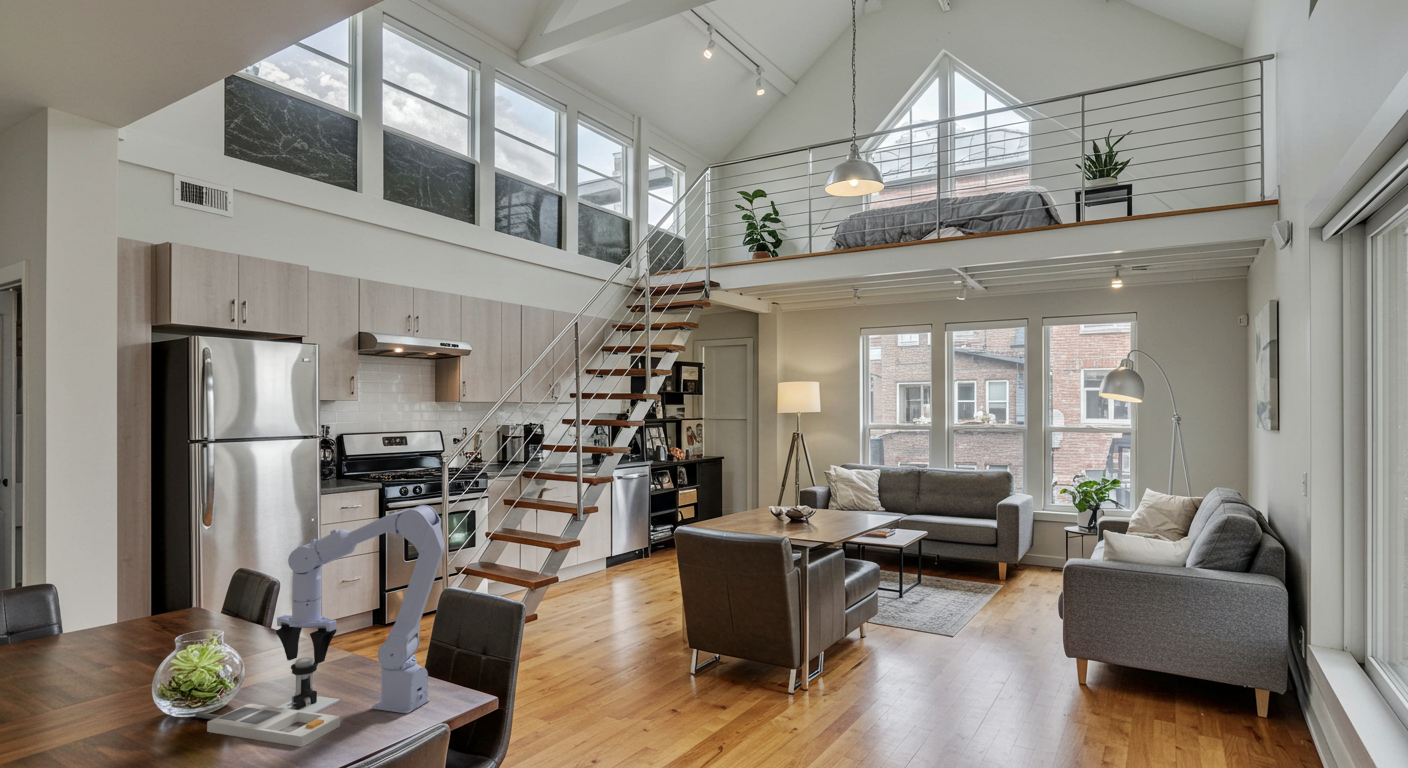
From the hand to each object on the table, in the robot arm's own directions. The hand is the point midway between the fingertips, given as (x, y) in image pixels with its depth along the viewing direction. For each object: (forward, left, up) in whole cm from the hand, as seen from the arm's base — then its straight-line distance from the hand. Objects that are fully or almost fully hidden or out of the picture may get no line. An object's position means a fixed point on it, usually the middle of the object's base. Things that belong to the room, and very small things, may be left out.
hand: (305, 660), depth 166 cm
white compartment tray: (+2, +11, -10) cm, 15 cm away
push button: (0, +1, -10) cm, 10 cm away
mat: (0, 0, -10) cm, 10 cm away
